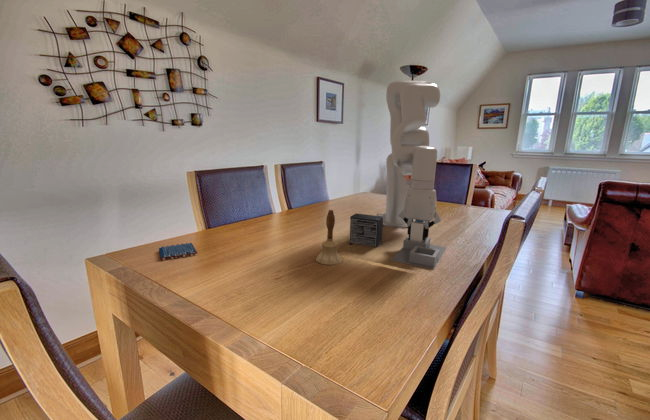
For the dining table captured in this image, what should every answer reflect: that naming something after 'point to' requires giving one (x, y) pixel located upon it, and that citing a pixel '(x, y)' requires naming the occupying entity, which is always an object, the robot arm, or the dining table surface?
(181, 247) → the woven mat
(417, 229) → the plug
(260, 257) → the dining table surface
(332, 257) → the hand bell
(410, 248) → the panel
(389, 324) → the dining table surface
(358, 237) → the small box
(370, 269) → the dining table surface
